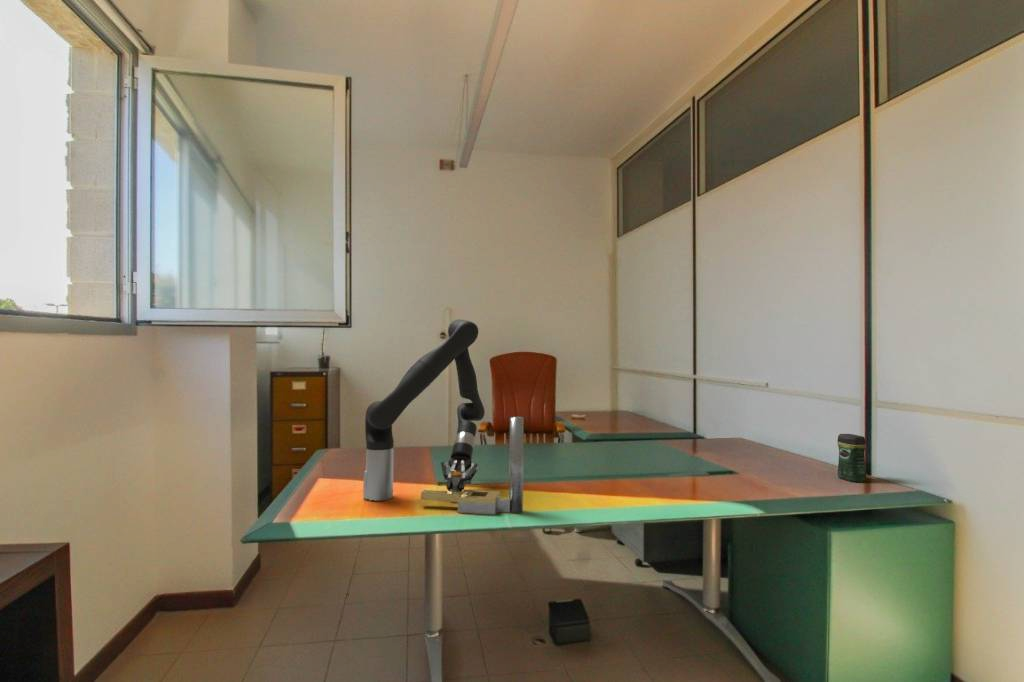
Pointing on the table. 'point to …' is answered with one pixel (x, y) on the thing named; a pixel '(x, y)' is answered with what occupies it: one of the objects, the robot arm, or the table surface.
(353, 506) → the table surface
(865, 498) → the table surface
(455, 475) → the wedge pin
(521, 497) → the grey l-shaped piece
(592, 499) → the table surface
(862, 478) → the coffee jar
